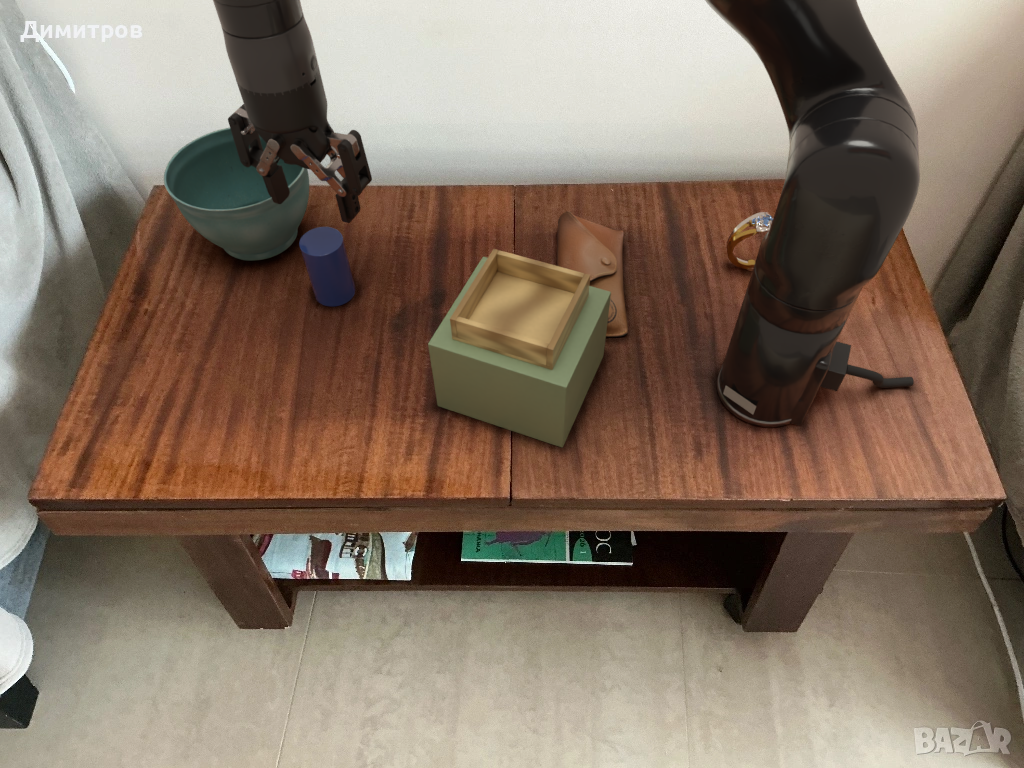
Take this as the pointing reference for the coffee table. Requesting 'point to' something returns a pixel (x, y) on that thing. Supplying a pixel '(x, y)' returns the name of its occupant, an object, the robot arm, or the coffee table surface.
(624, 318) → the sunglasses case
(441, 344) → the riser
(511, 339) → the tray
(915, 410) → the coffee table surface
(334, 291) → the blue cylinder
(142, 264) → the coffee table surface
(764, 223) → the ring
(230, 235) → the teal bowl
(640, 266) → the coffee table surface
